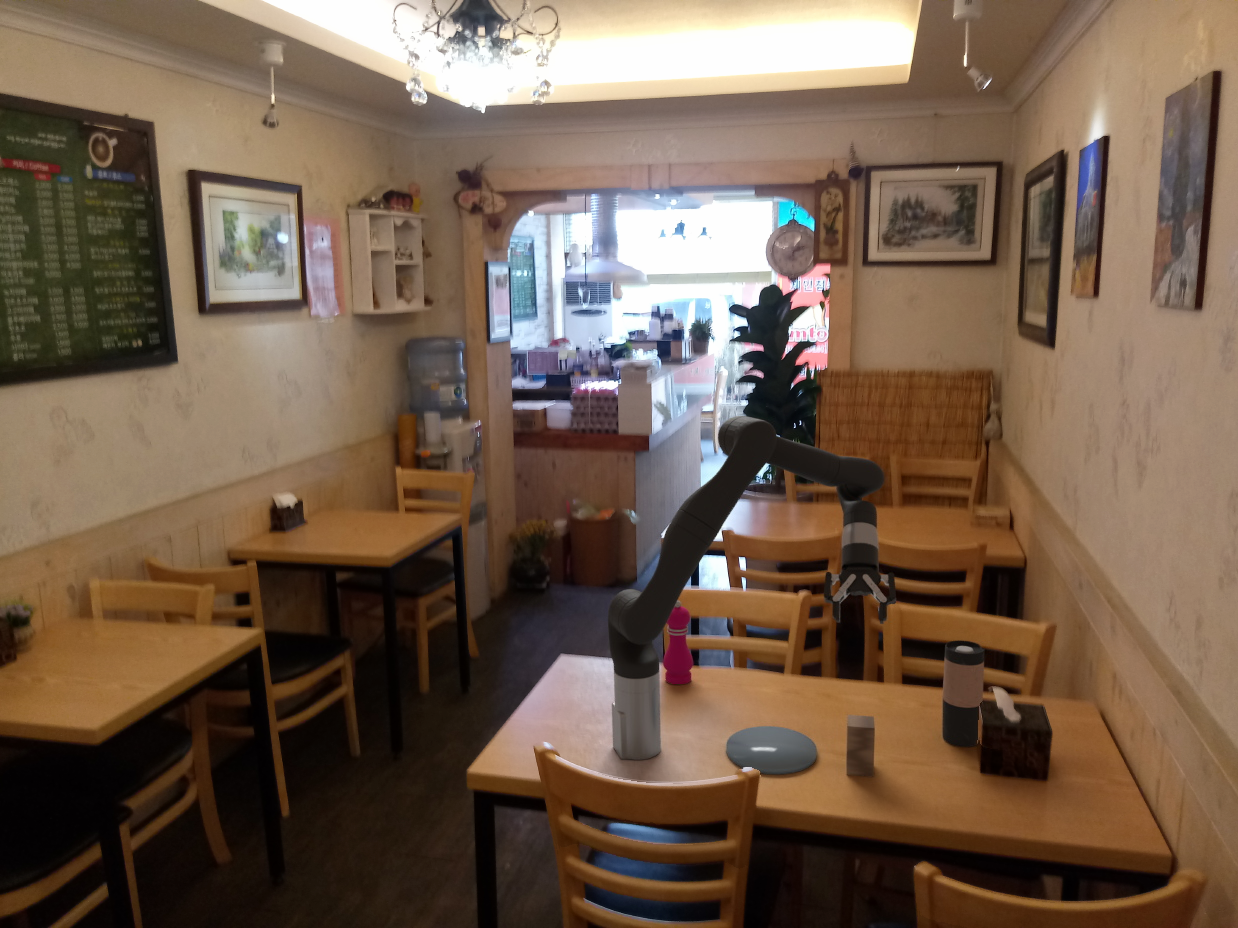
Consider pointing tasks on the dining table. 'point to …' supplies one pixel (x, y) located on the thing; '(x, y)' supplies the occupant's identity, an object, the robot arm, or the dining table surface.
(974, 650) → the travel mug
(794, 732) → the slate dish
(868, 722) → the walnut block
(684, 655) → the pepper mill
